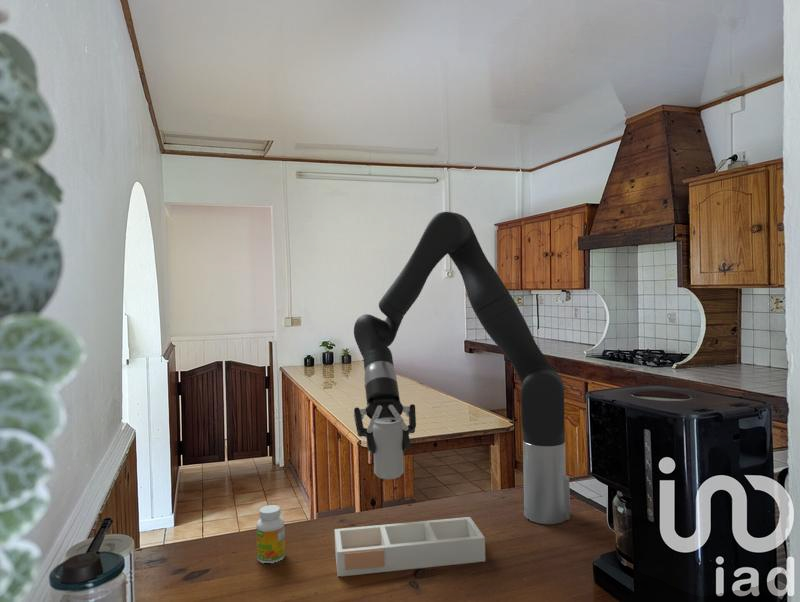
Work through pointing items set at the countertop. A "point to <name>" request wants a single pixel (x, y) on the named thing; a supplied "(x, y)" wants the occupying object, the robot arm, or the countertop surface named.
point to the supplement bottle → (270, 535)
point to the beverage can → (388, 448)
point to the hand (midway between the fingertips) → (389, 450)
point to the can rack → (408, 546)
